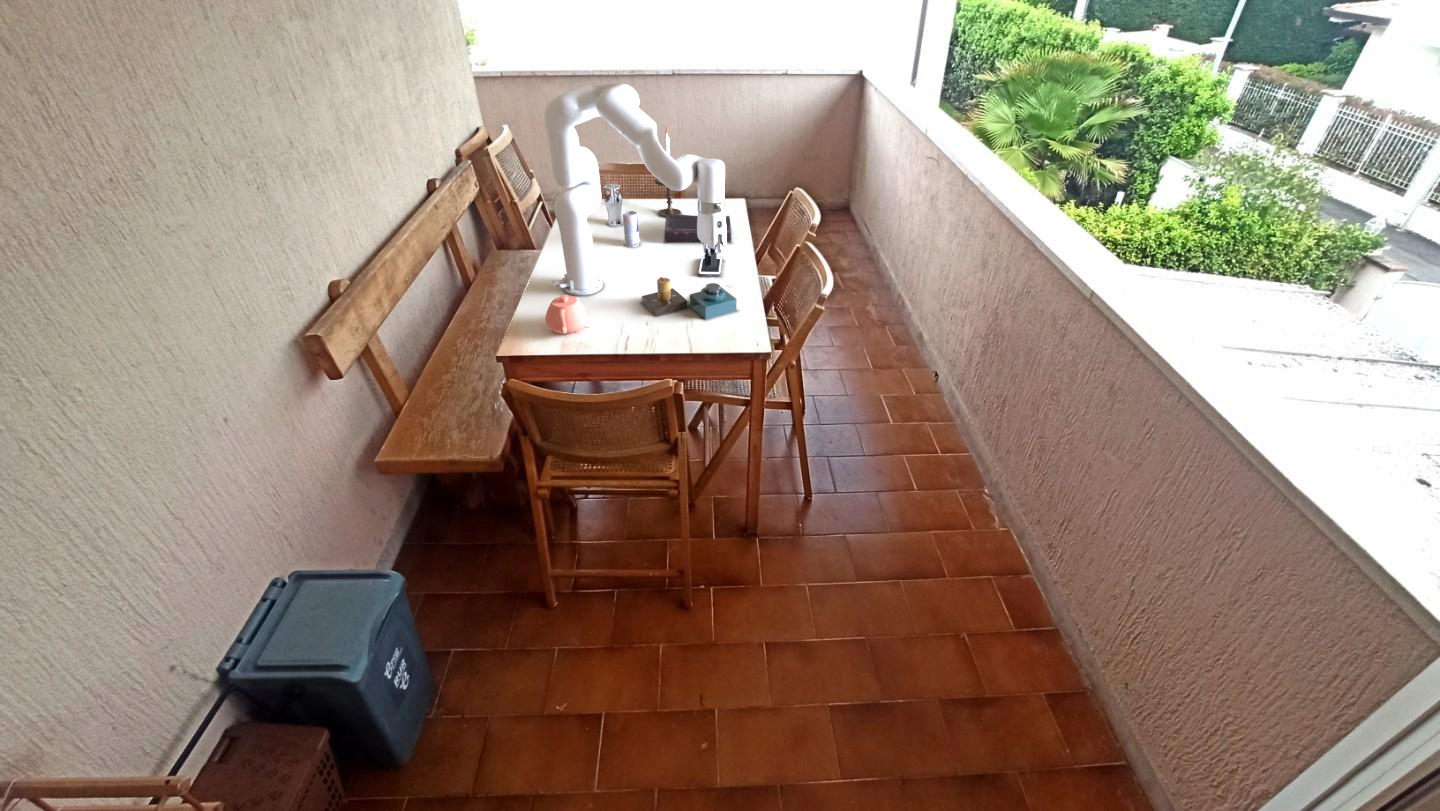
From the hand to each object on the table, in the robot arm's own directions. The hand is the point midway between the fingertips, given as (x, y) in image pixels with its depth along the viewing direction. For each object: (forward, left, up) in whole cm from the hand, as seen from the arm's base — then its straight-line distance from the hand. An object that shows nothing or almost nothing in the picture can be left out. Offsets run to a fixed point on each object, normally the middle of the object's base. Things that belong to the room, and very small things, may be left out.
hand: (710, 266), depth 192 cm
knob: (-12, +9, -12) cm, 19 cm away
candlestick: (+27, +81, -14) cm, 86 cm away
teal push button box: (0, -1, -14) cm, 14 cm away
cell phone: (+15, +26, -14) cm, 33 cm away
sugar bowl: (-43, +10, -14) cm, 46 cm away
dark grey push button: (0, -1, -8) cm, 9 cm away
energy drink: (0, +59, -14) cm, 61 cm away
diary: (+26, +55, -14) cm, 62 cm away
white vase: (+3, +82, -14) cm, 83 cm away
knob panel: (-12, +9, -14) cm, 20 cm away
